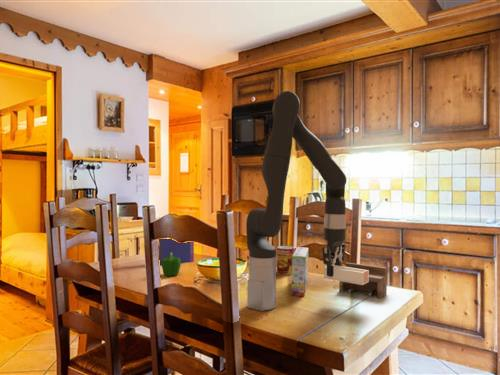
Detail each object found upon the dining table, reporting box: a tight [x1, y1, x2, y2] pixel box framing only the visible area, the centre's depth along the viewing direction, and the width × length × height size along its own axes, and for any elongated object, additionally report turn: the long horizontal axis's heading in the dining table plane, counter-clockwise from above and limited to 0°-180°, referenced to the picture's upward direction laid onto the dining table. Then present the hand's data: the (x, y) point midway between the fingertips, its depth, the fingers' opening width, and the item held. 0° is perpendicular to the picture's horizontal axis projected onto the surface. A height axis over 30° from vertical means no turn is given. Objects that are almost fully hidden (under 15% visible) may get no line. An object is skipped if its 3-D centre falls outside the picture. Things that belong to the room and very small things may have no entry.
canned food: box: [276, 245, 295, 276], centre depth 178 cm, size 8×8×12 cm
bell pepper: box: [161, 253, 181, 277], centre depth 173 cm, size 8×8×10 cm
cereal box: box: [158, 217, 195, 266], centre depth 200 cm, size 17×5×24 cm, turn 120°
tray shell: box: [323, 265, 369, 285], centre depth 132 cm, size 14×6×4 cm, turn 52°
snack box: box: [290, 246, 310, 297], centre depth 153 cm, size 21×6×15 cm, turn 168°
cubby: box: [338, 262, 388, 299], centre depth 147 cm, size 7×16×10 cm, turn 54°
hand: (333, 274), depth 135 cm, fingers closed on tray shell, 5 cm apart
